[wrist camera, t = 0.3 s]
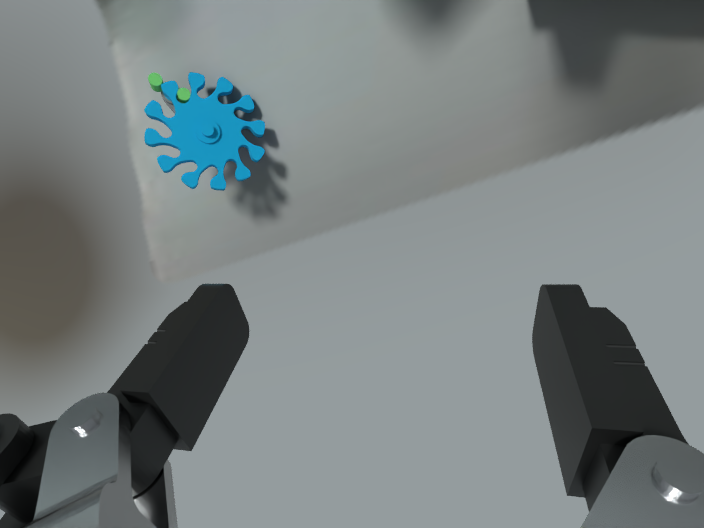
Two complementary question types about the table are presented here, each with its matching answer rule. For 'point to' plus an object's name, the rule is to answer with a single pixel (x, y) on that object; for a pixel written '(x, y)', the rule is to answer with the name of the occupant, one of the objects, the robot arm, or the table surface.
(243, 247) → the table surface
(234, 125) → the gear
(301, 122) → the table surface
